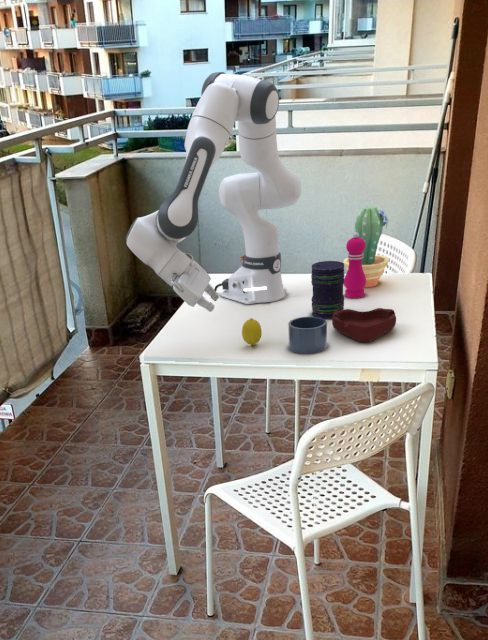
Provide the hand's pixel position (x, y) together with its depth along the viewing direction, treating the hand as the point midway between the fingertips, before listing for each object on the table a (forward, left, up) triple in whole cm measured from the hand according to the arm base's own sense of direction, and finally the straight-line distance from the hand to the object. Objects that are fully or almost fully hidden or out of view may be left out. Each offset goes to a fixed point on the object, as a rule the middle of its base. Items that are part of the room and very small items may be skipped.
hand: (215, 303), depth 190 cm
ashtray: (+30, +28, -13) cm, 43 cm away
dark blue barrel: (+11, +38, -13) cm, 42 cm away
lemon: (+8, +5, -13) cm, 16 cm away
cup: (+22, +12, -12) cm, 28 cm away
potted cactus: (+4, +71, -13) cm, 73 cm away
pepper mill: (+8, +58, -13) cm, 60 cm away
